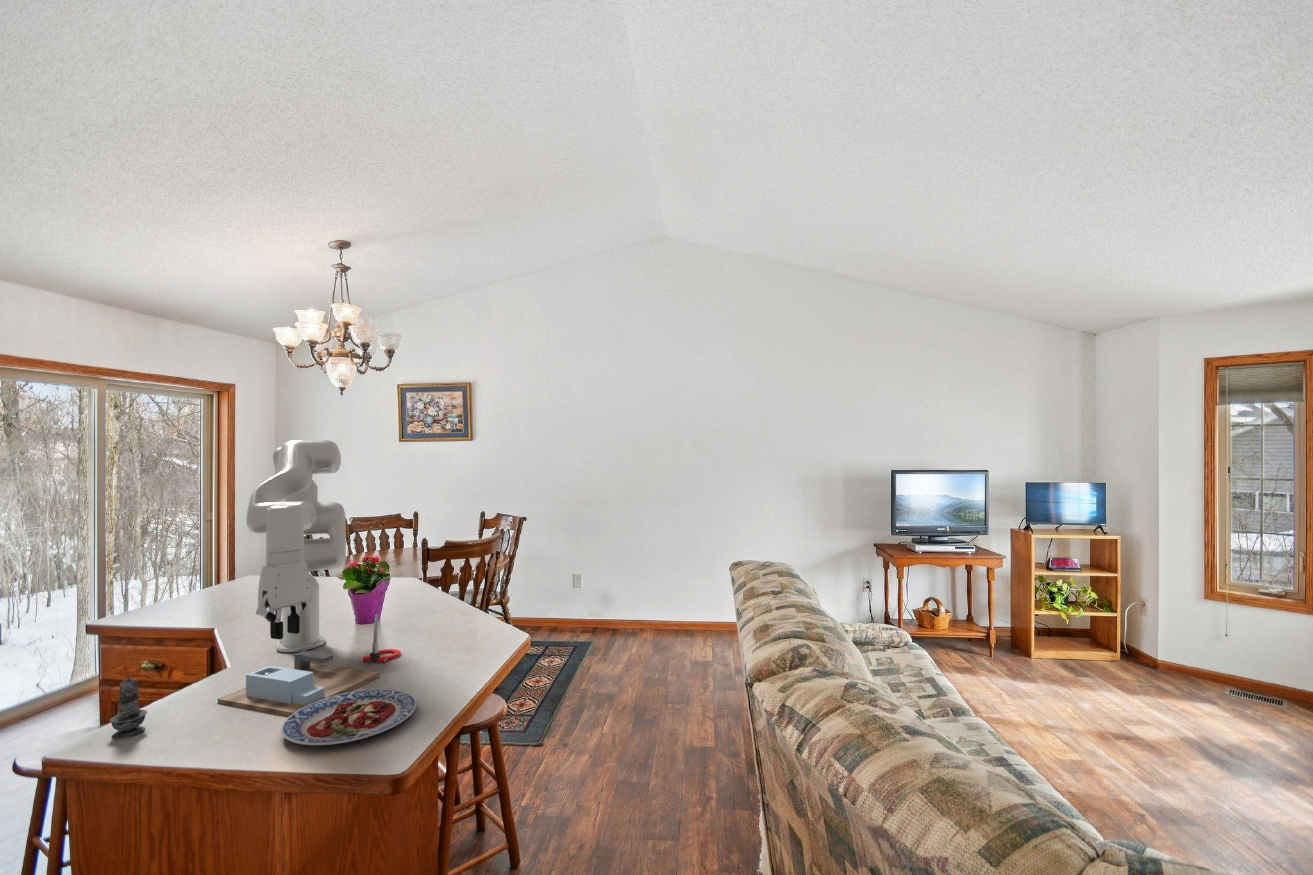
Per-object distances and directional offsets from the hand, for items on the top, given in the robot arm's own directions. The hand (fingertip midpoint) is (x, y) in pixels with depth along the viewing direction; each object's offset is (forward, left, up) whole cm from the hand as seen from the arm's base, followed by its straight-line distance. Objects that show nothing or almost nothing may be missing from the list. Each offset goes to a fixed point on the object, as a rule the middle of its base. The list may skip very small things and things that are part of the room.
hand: (285, 634), depth 139 cm
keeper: (-7, +14, -14) cm, 21 cm away
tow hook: (0, +30, -16) cm, 34 cm away
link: (0, 0, -14) cm, 14 cm away
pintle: (-6, 0, -15) cm, 16 cm away
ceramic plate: (+24, -4, -16) cm, 29 cm away
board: (-2, +6, -15) cm, 16 cm away
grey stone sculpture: (-17, -22, -15) cm, 32 cm away
